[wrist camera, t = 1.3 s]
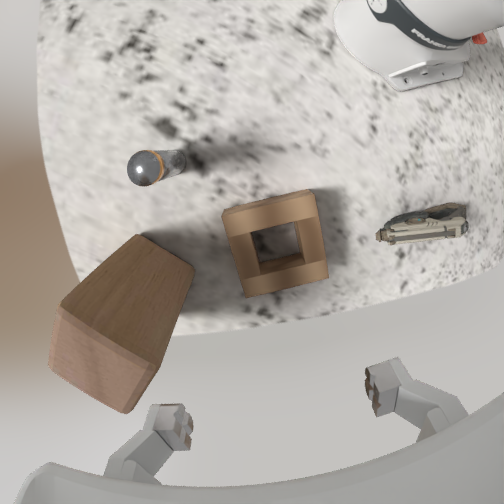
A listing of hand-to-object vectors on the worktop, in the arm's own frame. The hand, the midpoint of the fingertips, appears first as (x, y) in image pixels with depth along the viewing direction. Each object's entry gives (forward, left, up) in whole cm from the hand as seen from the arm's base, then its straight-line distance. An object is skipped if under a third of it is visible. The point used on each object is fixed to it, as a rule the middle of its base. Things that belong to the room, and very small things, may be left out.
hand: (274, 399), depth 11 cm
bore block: (-2, +2, -27) cm, 27 cm away
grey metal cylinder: (+8, -11, -27) cm, 30 cm away
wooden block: (+16, +3, -28) cm, 32 cm away
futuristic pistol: (-23, +4, -28) cm, 36 cm away
